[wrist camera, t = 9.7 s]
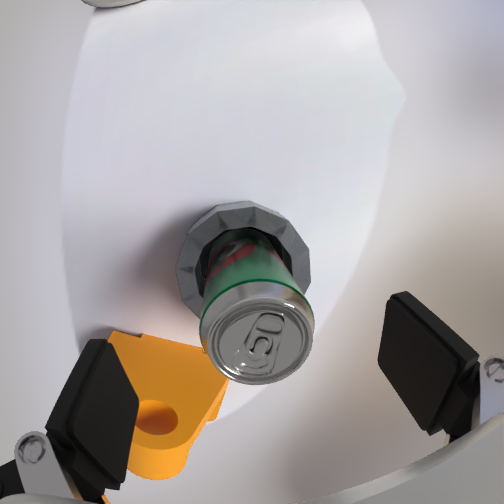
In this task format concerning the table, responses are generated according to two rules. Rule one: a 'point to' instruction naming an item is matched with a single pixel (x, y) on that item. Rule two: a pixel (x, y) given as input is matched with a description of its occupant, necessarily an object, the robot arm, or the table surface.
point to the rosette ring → (236, 218)
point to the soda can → (253, 311)
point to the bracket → (167, 400)
